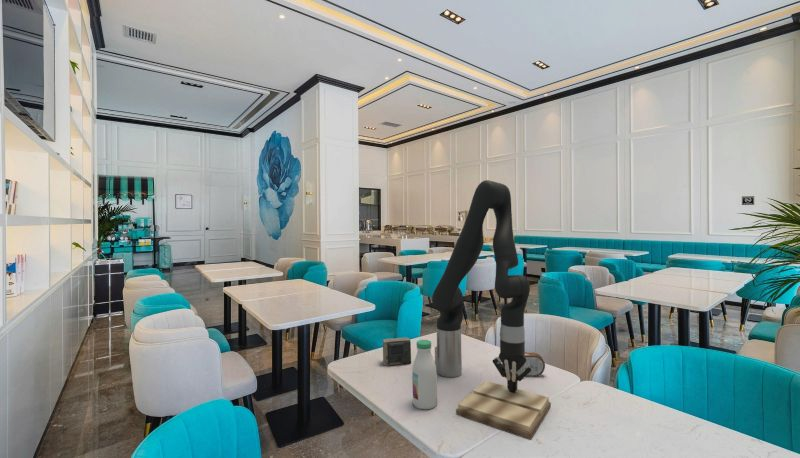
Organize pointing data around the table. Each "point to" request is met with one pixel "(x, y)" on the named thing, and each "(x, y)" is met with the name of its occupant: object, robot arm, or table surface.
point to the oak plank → (512, 396)
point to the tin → (533, 364)
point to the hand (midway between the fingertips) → (512, 391)
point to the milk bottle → (424, 377)
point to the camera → (396, 351)
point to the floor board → (501, 415)
